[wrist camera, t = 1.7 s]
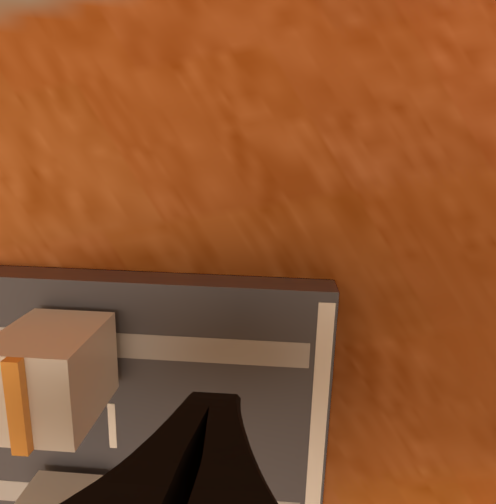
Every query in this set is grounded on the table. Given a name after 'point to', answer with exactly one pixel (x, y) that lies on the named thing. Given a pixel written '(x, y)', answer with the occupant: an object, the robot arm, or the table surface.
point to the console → (196, 364)
